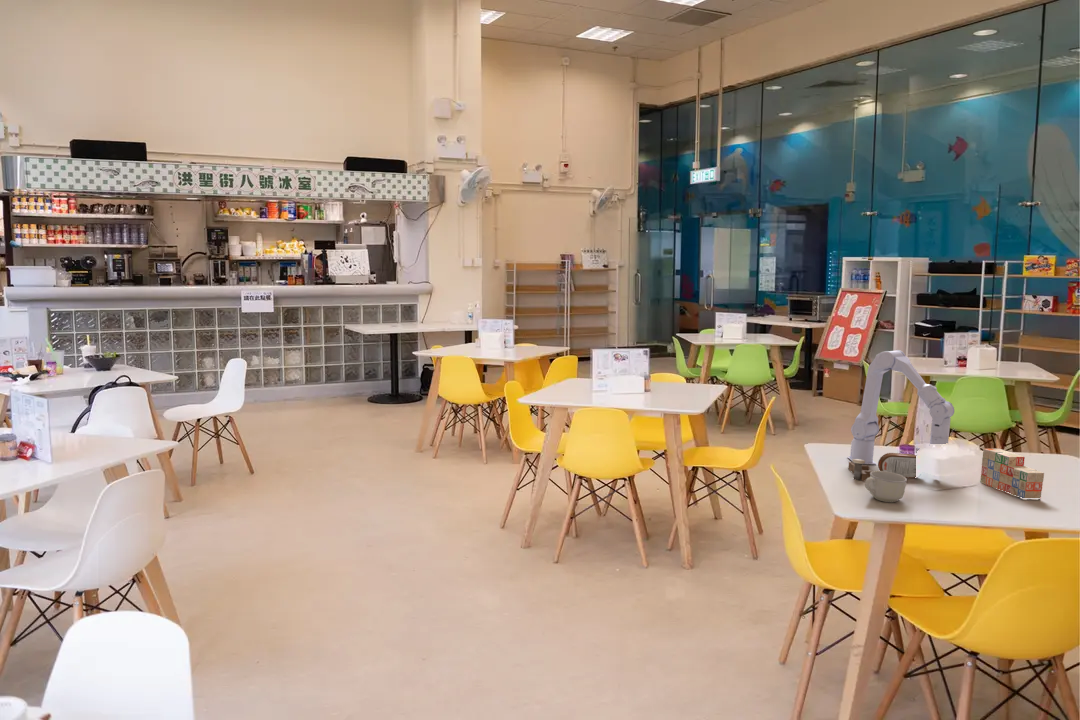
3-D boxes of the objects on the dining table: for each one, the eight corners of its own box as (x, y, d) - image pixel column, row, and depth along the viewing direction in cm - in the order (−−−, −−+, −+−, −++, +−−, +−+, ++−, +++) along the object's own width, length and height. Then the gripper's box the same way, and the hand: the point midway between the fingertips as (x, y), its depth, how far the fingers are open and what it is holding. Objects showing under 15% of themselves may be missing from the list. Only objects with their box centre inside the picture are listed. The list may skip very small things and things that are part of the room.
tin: (920, 477, 286) (923, 454, 285) (924, 479, 283) (926, 456, 282) (876, 474, 287) (878, 451, 286) (879, 477, 284) (881, 453, 283)
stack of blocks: (1041, 500, 262) (1045, 463, 261) (1023, 501, 261) (1028, 463, 260) (995, 482, 283) (999, 447, 282) (979, 482, 282) (983, 447, 281)
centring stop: (839, 468, 294) (841, 450, 294) (863, 469, 294) (865, 451, 293) (852, 480, 279) (854, 461, 278) (878, 481, 278) (880, 462, 277)
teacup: (891, 494, 263) (893, 470, 262) (912, 504, 253) (914, 479, 252) (852, 495, 261) (854, 470, 260) (871, 505, 250) (873, 480, 249)
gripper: (922, 437, 279) (918, 476, 280) (966, 440, 278) (962, 478, 279) (914, 433, 286) (911, 471, 287) (957, 435, 285) (953, 473, 286)
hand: (935, 474), depth 284 cm, fingers closed
